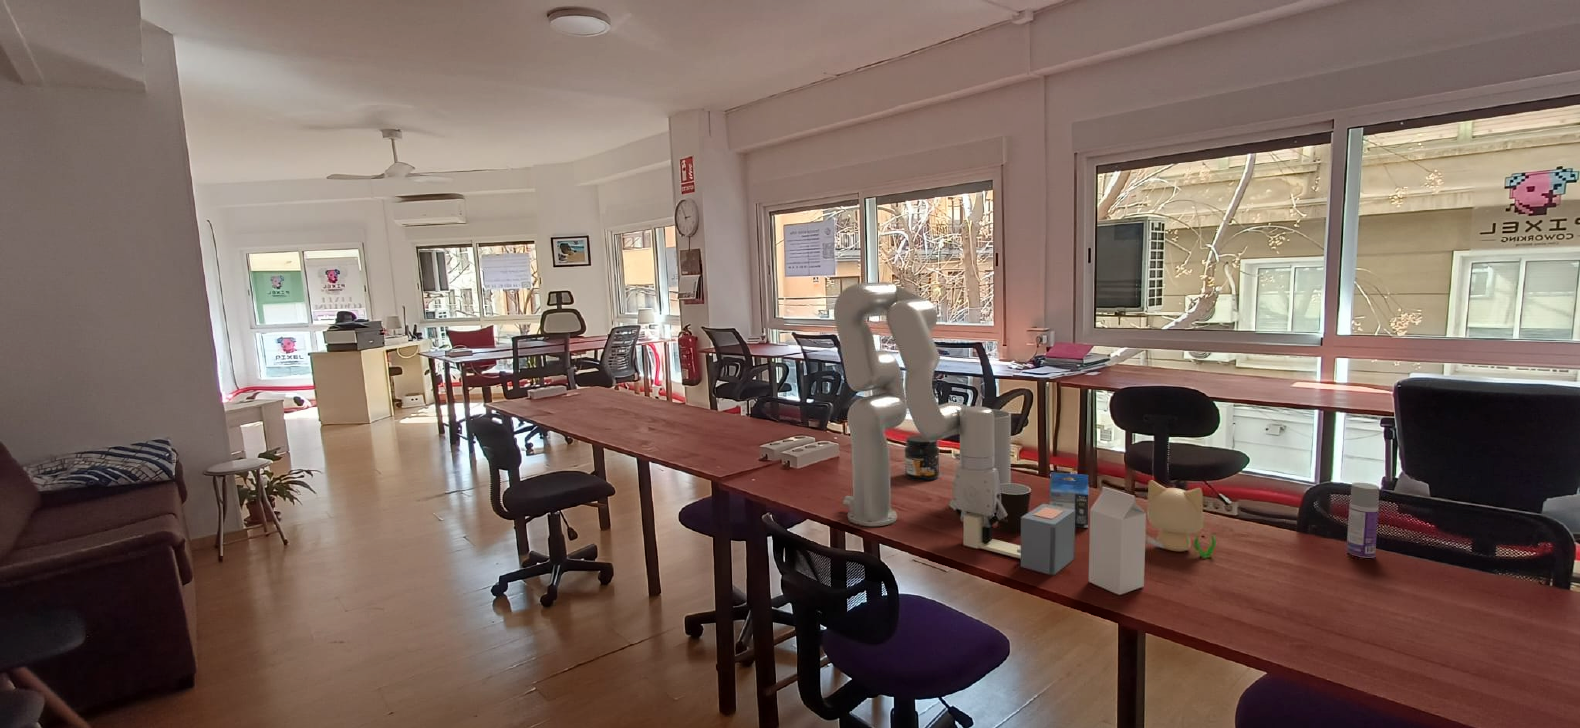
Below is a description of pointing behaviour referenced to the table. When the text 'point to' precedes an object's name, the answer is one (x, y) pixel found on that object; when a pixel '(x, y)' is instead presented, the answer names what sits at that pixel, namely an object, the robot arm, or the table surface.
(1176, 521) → the kitten
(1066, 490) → the label tape box
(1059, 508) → the block
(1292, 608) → the table surface
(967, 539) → the cream l-shaped bracket
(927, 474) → the supplement container
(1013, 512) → the coffee mug
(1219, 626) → the table surface
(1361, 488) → the container
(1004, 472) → the cylinder vase
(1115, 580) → the milk carton
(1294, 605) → the table surface
